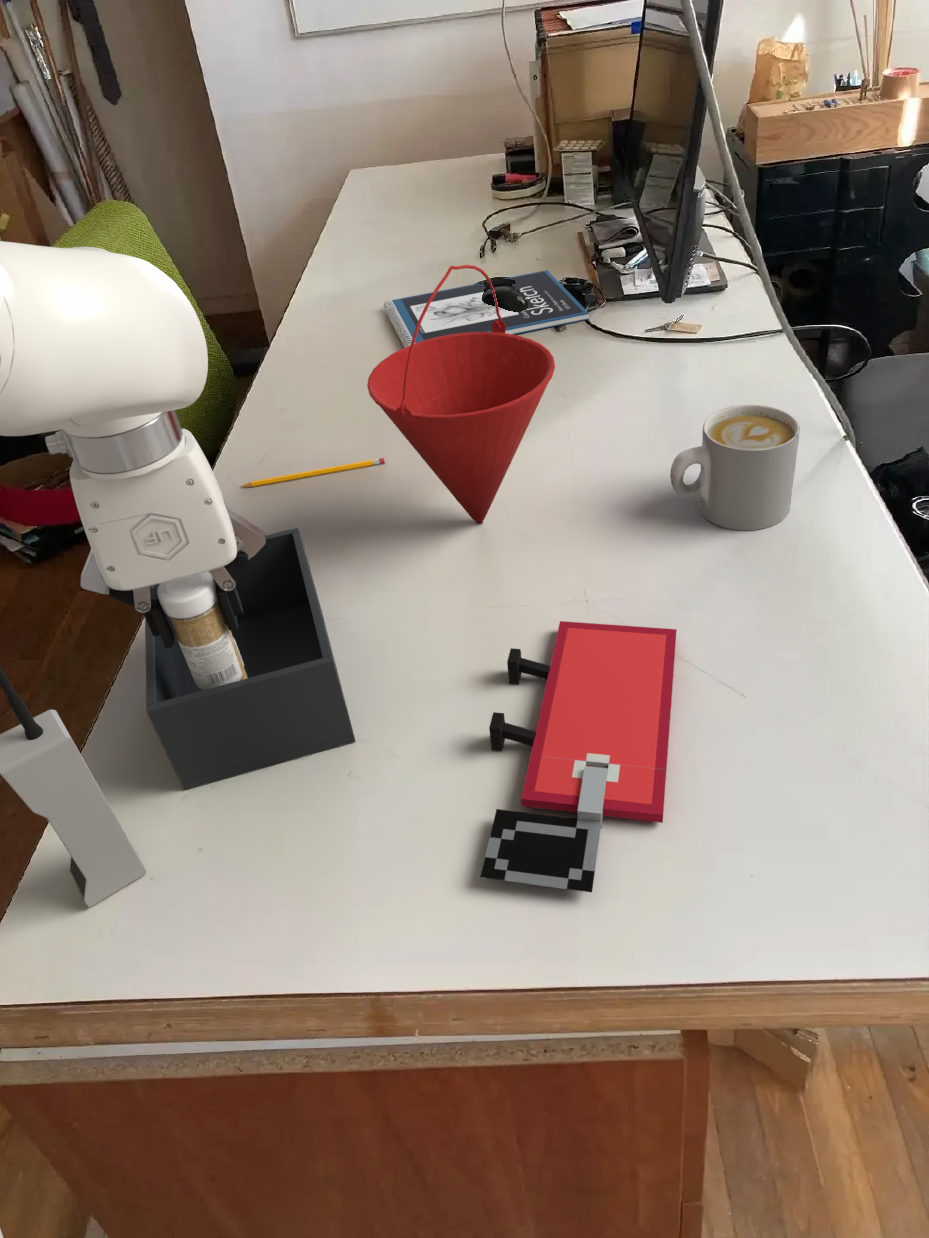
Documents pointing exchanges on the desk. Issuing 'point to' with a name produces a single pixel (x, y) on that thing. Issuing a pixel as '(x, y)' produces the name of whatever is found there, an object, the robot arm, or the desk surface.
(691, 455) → the coffee mug
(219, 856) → the desk surface
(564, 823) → the red board with handle
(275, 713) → the wastebin
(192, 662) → the sprinkles bottle
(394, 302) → the sketchbook
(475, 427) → the fire bucket
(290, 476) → the pencil
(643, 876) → the desk surface
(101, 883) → the vintage mobile phone
